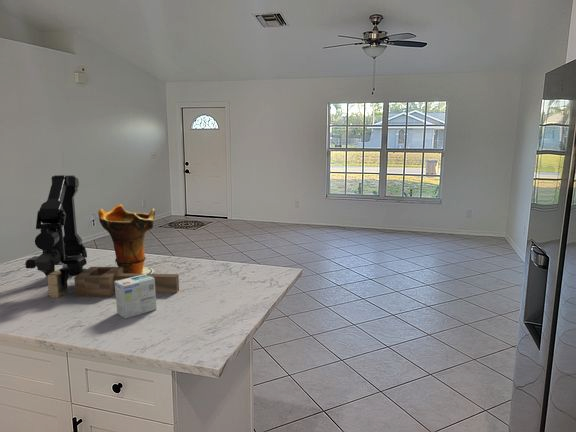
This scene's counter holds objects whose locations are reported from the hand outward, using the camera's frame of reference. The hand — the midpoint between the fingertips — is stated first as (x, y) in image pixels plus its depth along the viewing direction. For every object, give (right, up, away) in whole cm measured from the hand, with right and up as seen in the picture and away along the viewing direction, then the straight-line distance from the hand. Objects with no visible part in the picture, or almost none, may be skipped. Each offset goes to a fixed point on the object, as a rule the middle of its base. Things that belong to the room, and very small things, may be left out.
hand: (58, 285), depth 149 cm
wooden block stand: (+24, -2, +4) cm, 25 cm away
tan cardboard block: (0, -3, +1) cm, 3 cm away
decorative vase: (+17, +1, +24) cm, 29 cm away
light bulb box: (+33, -6, -14) cm, 36 cm away
